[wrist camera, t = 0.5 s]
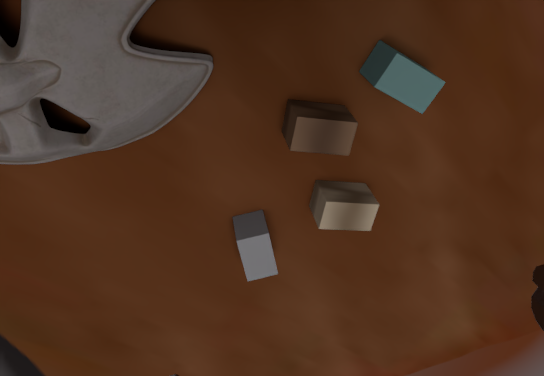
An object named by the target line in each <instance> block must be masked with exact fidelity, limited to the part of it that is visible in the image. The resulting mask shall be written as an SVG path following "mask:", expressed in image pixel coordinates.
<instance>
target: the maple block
mask: <svg viewBox="0 0 544 376" xmlns="http://www.w3.org/2000/svg"><path fill="white" fill-rule="evenodd" d="M309 207H310V209H311V211H312V214H313V216H314V219H315V221H316V223H317V226H318V228H319V229H335V230H359V231H370V230H371V227H372V225H373V222H374V219H375V216H376V213H377V210H378V207H379V203H378V202H377V200H376V199H375V197H374V196H373V194H372V193H371V191H370V190H369V188H368V186H367V185H366V183H352V182H338V181H323V180H316V181H315V185H314V189H313V193H312V197H311V201H310V205H309Z"/></svg>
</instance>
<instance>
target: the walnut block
mask: <svg viewBox="0 0 544 376" xmlns="http://www.w3.org/2000/svg"><path fill="white" fill-rule="evenodd" d="M357 125H358V122H357V121H356V120H355V118H354V117H353V116H352V115H351V113H350V112H349V111H348V109H347V108H346V107H345V106H344V105H336V104H327V103H318V102H308V101H299V100H290V99H288V102H287V107H286V112H285V117H284V122H283V127H282V133H283V136H284V138H285V140H286V142H287V145H288V147H289V149H290V151H300V152H312V153H324V154H336V155H349V153H350V149H351V146H352V142H353V139H354V135H355V132H356V128H357Z"/></svg>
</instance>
